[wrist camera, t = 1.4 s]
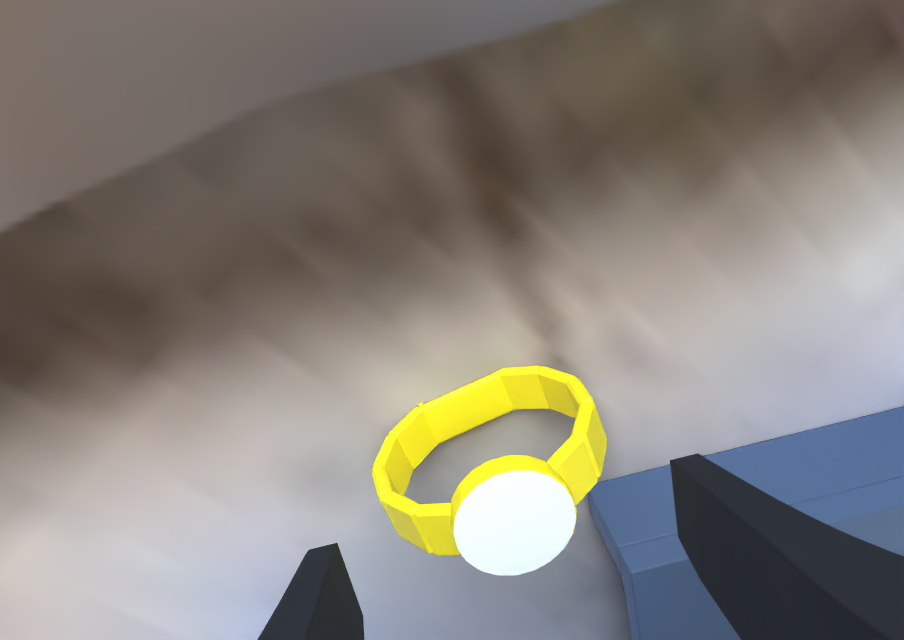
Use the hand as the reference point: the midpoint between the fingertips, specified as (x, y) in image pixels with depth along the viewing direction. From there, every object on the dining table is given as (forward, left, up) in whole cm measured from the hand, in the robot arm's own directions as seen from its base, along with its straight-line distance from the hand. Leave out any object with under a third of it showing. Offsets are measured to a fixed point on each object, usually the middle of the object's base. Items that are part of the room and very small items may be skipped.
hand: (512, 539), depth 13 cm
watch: (0, 0, -6) cm, 6 cm away
